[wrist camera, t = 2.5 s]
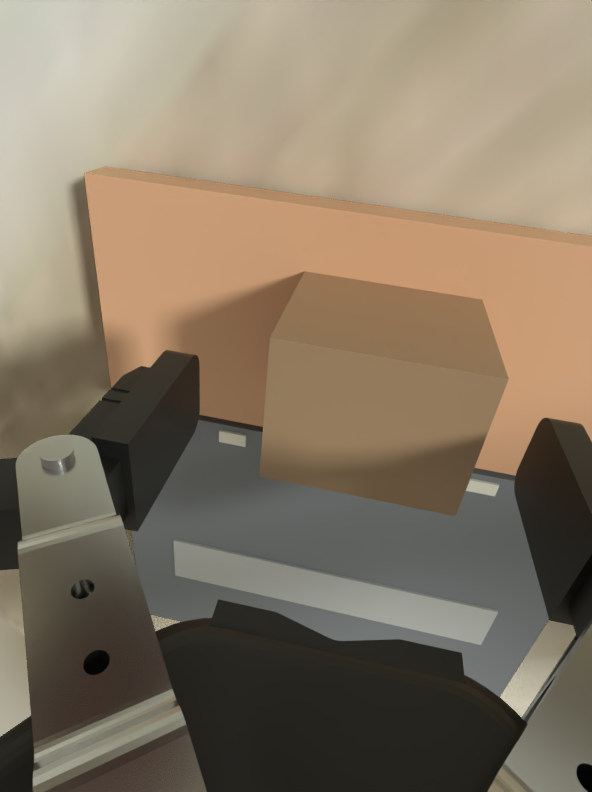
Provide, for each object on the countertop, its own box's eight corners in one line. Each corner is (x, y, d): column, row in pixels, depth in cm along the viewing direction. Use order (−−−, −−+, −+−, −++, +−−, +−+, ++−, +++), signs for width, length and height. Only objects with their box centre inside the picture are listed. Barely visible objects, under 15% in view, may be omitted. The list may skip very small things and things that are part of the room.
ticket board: (611, 478, 18) (624, 504, 17) (495, 672, 25) (499, 699, 24) (131, 387, 20) (114, 405, 19) (151, 592, 27) (140, 614, 26)
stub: (748, 258, 13) (931, 357, 9) (618, 473, 17) (694, 618, 13) (105, 166, 15) (-29, 206, 10) (127, 381, 19) (38, 478, 15)
